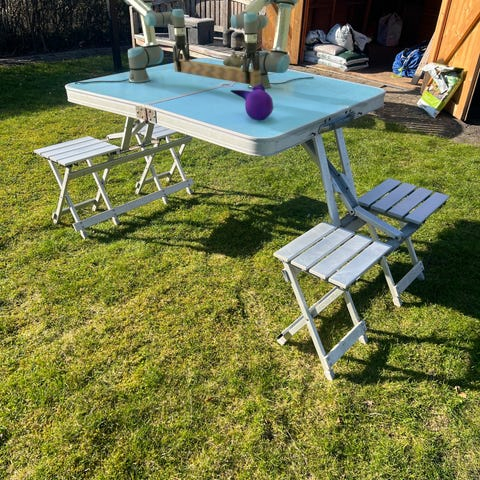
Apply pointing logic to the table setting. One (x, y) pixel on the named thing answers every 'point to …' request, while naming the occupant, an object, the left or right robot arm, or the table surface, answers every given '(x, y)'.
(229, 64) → the teapot
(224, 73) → the block
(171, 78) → the table surface
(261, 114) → the toy
